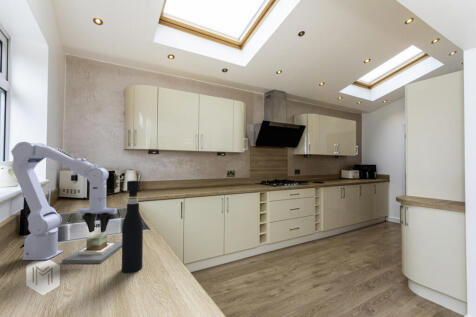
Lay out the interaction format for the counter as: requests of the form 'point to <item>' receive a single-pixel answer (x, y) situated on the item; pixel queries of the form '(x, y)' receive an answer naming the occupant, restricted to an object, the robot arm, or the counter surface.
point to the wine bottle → (132, 232)
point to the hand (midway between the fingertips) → (97, 231)
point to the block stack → (96, 242)
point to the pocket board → (93, 254)
